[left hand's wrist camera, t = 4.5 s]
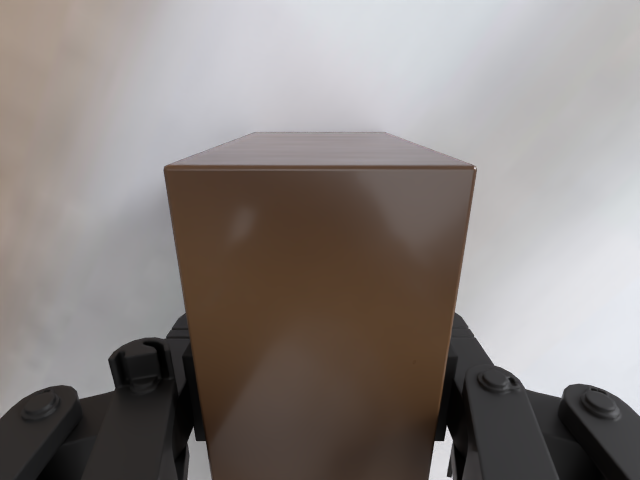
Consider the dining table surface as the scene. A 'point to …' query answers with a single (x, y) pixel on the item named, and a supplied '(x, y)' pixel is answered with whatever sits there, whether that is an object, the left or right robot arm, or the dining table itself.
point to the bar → (320, 300)
